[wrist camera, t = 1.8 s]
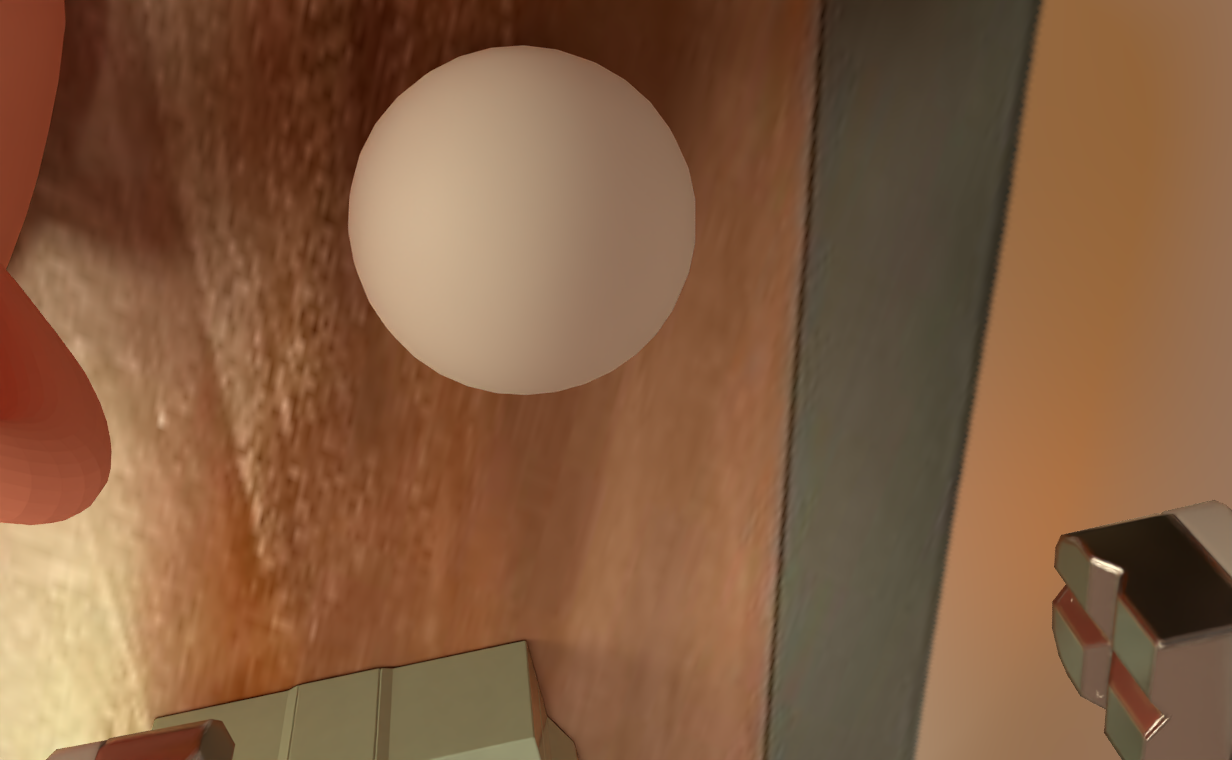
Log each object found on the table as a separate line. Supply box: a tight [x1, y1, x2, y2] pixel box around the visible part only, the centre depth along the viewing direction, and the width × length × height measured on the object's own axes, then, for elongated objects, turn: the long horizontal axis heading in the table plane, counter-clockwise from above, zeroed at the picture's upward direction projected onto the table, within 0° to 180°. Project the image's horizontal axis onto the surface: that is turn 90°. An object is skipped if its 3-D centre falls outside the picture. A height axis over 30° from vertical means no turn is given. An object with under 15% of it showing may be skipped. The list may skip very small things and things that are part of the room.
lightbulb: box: [348, 45, 695, 395], centre depth 22 cm, size 6×6×11 cm
